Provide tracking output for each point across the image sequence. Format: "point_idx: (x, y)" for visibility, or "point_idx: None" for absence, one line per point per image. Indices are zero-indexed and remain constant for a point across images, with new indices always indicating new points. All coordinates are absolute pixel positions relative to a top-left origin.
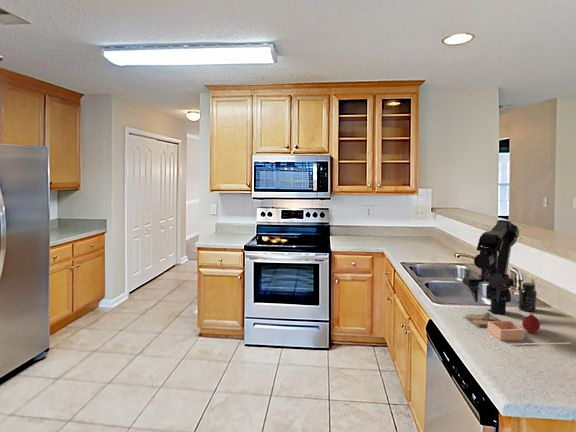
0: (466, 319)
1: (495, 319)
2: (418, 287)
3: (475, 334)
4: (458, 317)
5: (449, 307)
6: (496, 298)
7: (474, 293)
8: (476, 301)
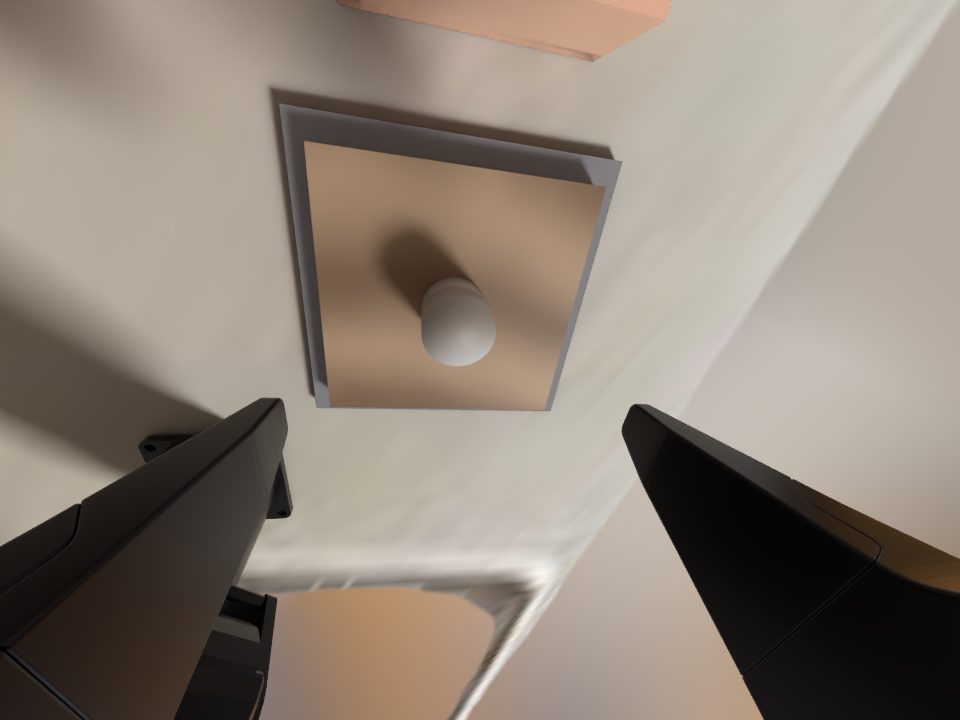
0: (561, 365)
1: (360, 292)
2: (475, 699)
3: (731, 43)
4: (562, 417)
5: (500, 544)
6: (273, 477)
7: (837, 512)
8: (653, 410)
